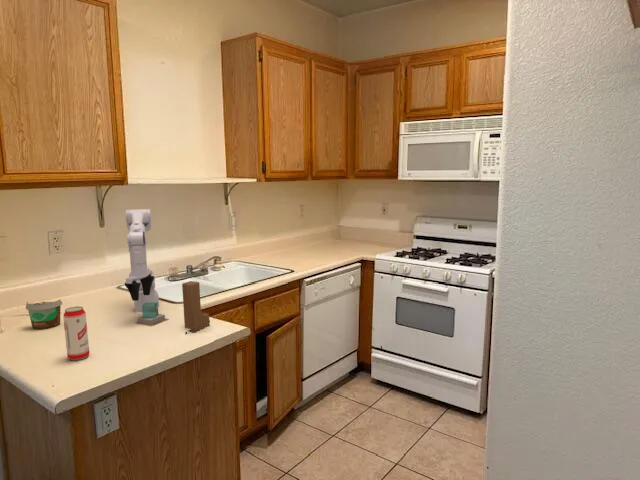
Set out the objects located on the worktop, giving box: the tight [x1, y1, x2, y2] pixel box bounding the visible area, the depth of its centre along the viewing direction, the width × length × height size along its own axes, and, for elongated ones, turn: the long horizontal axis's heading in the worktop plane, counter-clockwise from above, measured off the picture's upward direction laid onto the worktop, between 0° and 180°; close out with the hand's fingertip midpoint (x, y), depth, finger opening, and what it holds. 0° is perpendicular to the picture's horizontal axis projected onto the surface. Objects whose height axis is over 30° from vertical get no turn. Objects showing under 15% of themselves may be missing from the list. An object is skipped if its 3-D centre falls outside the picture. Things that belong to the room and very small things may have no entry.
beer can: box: [63, 306, 90, 362], centre depth 143 cm, size 6×6×16 cm
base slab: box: [134, 318, 170, 327], centre depth 175 cm, size 9×9×2 cm
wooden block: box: [181, 280, 211, 333], centre depth 168 cm, size 9×4×18 cm, turn 155°
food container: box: [25, 299, 63, 331], centre depth 172 cm, size 12×6×10 cm, turn 105°
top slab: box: [137, 313, 166, 325], centre depth 174 cm, size 7×7×2 cm
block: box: [141, 302, 159, 318], centre depth 174 cm, size 4×4×5 cm
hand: (141, 297), depth 174 cm, fingers open, 7 cm apart
